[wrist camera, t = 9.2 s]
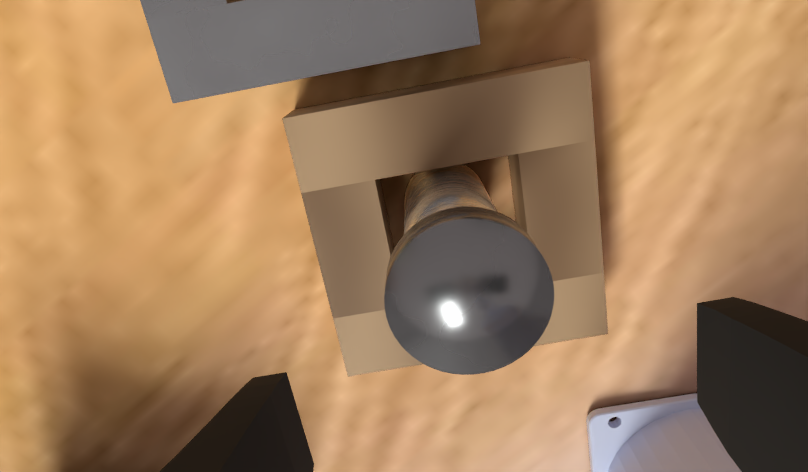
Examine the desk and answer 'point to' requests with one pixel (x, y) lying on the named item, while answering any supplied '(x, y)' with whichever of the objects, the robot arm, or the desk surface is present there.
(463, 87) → the socket
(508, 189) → the desk surface
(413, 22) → the mount
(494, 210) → the lock pin
